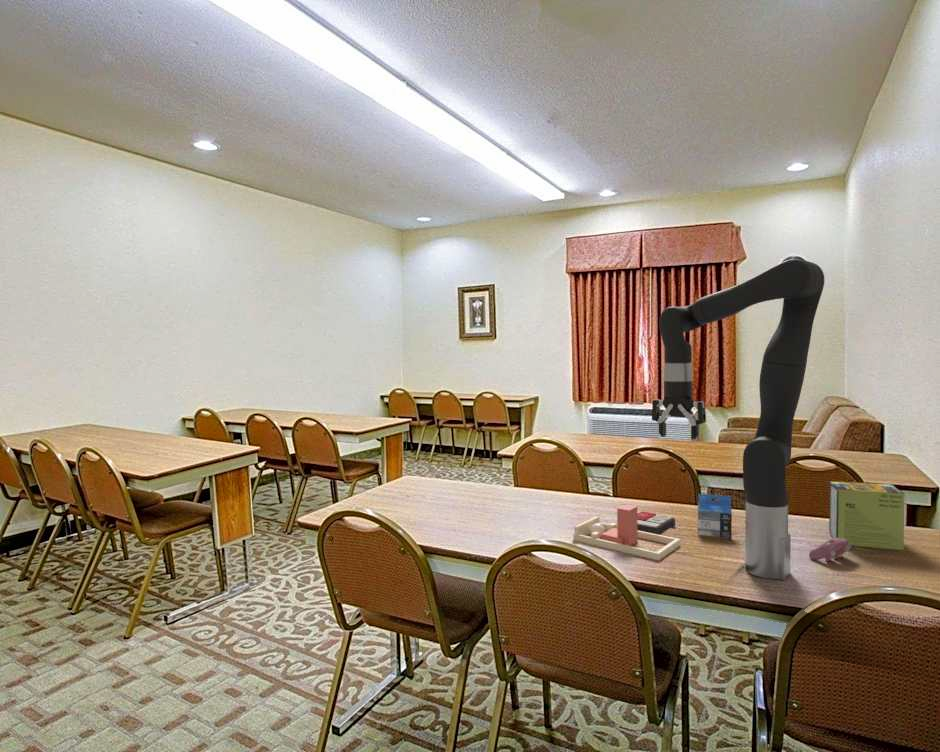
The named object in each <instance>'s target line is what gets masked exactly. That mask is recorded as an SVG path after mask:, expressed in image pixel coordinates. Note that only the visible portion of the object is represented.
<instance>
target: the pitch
mask: <svg viewBox="0 0 940 752" xmlns="http://www.w3.org/2000/svg"><path fill="white" fill-rule="evenodd" d="M595 523H599V524H601V525H602V526H603V527H604V529H605V532H607V531H609V530H611V529H613V528H617V522H616V523H615V522H610V523H609V524H608V523H605V522H600V516H597V515H596V516H594V517H591V518H590V519H587V520H585V521H583V522H581V523H579V524H577V525H574V533H573V534H572V535H573V536H572V538H573V541H575V542H579V543H584V544H589V545H591V546H592V545H593V546H596V547H601V548H605V549H609V550H613V551H618V552H622V553H626V554H629V555H634V556H639V557H643V558H646V559H650V560H655V561H660V560H662V559H663V558H665V557H666V556H668V555H669V554H670V553H671V552H673V551H674V550H676V549H677V548H679V547H680V546H681V539H680V538H676V537H671V536H667V535H666V536H665V535H661V534H658V535H657V534H653V533H648V532H643V531H638V538H639V539H643V540H649V541H653V542H657V543H662V544H666V545H664V546H663V547H662V548H660V549H659V550H657V551H653V550H649V549H645V548H640V547H636V546H633V545H632V546H628V545H623V544H619V543H615V542H610V541H606V540H602V538H601V537H600V532H593V533H591V531H590V529H591V526H592V525H593V524H595ZM589 535H590V536H589Z"/></svg>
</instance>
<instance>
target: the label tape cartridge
mask: <svg viewBox="0 0 940 752" xmlns="http://www.w3.org/2000/svg"><path fill="white" fill-rule="evenodd" d="M697 495H698V499H697V500H698V502H697V535H698V536H706V537H714V538H720V539H723V540H728V541H729V540H730V541H732V523H733V522H732V521H733V520H732V518H733V517H732V515H733V514H732V505H731V497H732V496H731V495H722V494H721V495H720V494H706V493H698V494H697ZM713 499H715V500H713ZM717 500H719V501H717Z"/></svg>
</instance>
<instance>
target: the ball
mask: <svg viewBox="0 0 940 752" xmlns="http://www.w3.org/2000/svg"><path fill="white" fill-rule="evenodd" d="M590 531H591V533H593V532H600V538H602V534H603V533H605V532H606V530H605V529H604V527H603V526H602V525H601V524H599V523H595V524H593V525H592V526H591V529H590Z"/></svg>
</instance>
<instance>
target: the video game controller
mask: <svg viewBox="0 0 940 752" xmlns="http://www.w3.org/2000/svg"><path fill="white" fill-rule="evenodd" d="M852 547H853V546H852V544H851V543H850V542H849V541H847V540H846V539H845V540H844V539H843V537H842V538H833V537H832V538H830V539H829V540H826V541H825V542H823V543H821V544H820V545H819V546H818V547H816V548H814V549H812V550H811V551H809V552H808V553H809V554H808V557H809V559H811V560H813V561H818V560H822V559H825V560H826V561H827V562H830V561H832V560H833V558H835V559H836V560H838V559H839V558H842V556H843V555H844V554H846V553H847V552H848V551H849V550H850V549H851V548H852Z"/></svg>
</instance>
